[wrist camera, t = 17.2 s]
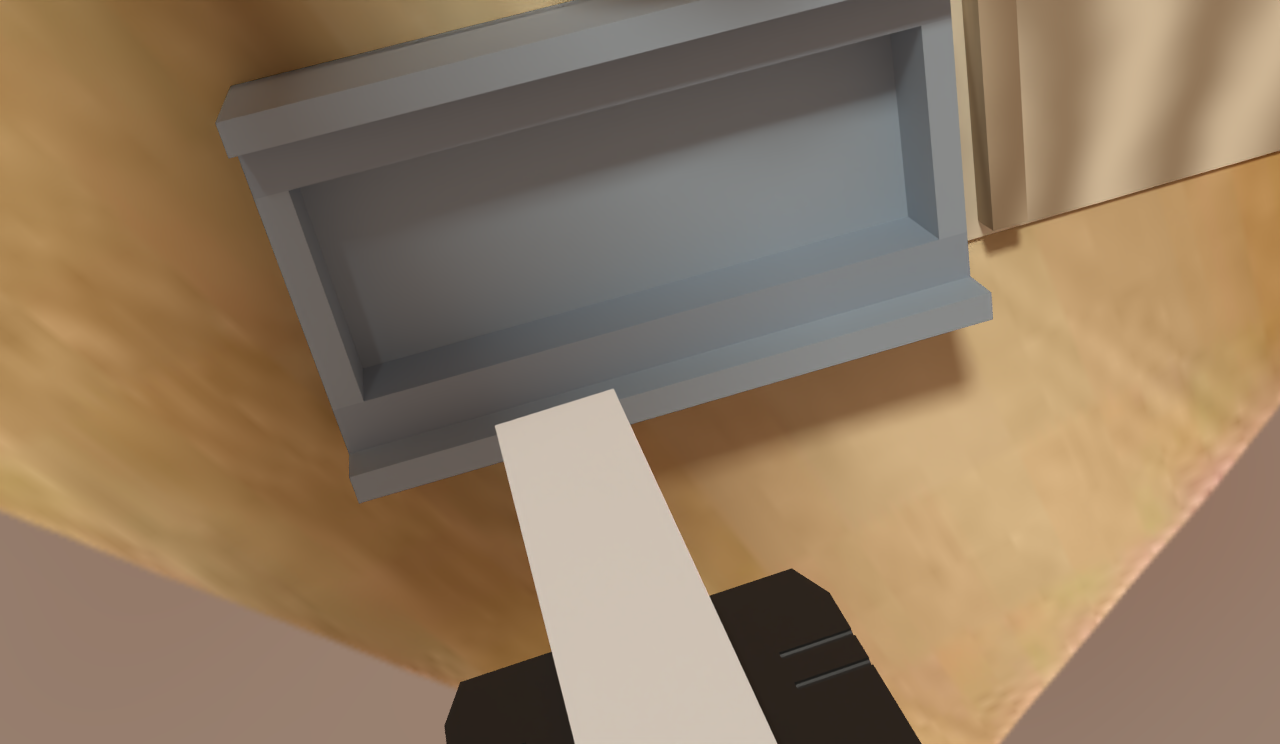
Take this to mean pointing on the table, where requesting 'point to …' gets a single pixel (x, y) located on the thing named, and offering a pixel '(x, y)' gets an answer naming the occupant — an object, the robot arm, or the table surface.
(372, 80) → the pencil box
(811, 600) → the robot arm
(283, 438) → the table surface
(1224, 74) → the lid
